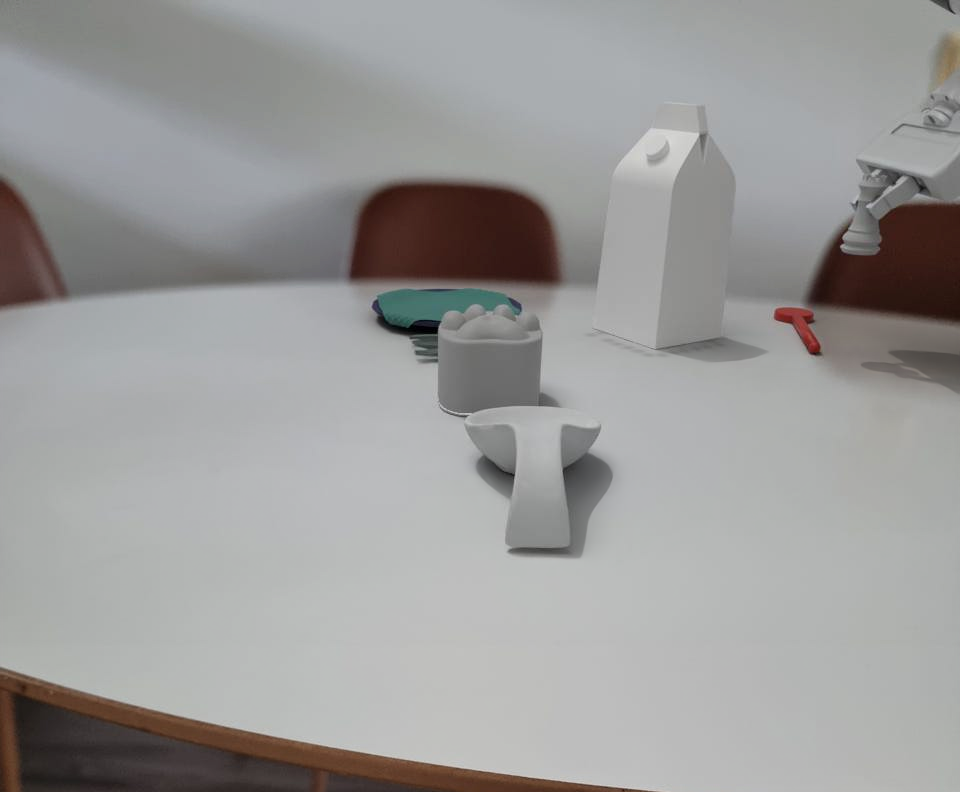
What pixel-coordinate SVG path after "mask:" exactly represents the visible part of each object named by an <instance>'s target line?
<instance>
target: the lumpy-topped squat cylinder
mask: <svg viewBox="0 0 960 792" xmlns="http://www.w3.org/2000/svg"><path fill="white" fill-rule="evenodd" d="M540 323H541V322H540V320H539V317H538V316H537V315H536V314H535V313H533V312H532V311H526V312H525V311H524V312H523V313H522V312H521V313H520V315H519V316H517V315H514V313H513V311H512V309H511V308H510V307H509V306H508V305H499V306H497V307H496V308H495V309H494V311H485V309H484V308H483V307H482V306H481V305H478V304H475V305H472V306H470V307H469V308H468V309H467V310H466V311H465V313H464V314H461V313H460V312H458V311H448V312H446V313H445V314H444V316H443V318H442V321H441V323H440V325H439V327H437V328H438V329H437V334H438V355H437V399H438V398H439V401H438V400H437V402H438V405H439V408H440V409H441V410H442V411H443V412H445V413H446V414H450V415H453V416H457V417H468V416H469V415H458V414H453V413H450V412H447V411H445V410H444V409H442V408H441V407H440V404H441V405H442V406H443V407H444V408H446V409H447V410H450V411H453V412H457V413H472V414H473V413H475V412H478V411H482V410H486V409H492V408H500V407H511V406H540V389H541V375H542V374H541V371H542V355H543V353H542V352H543V339H544V337H543V335H544V334H543V333H544V332H543V330H542V328H541V324H540ZM439 402H440V404H439Z"/></svg>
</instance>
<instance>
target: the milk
mask: <svg viewBox="0 0 960 792" xmlns="http://www.w3.org/2000/svg"><path fill="white" fill-rule="evenodd" d="M650 127H651V128H649V129H648V130H647V132H646V133H645V134H644V135H643V136H642V137H641V138H640V139H639V140H638V141H637V143H636V144H635V145H634V146H632V148H631V149H630V150H629V151H628V152H627V153H626V155H624V156H623V158H622V159H621V160H620V162H619V163H618V164H617V166H616V167H615V169H614V172H613V174H612V176H611V180H610V188H609V194H608V204H607V210H606V219H605V226H604V234H603V241H602V247H601V255H600V263H599V272H598V279H597V285H596V286H597V287H596V293H595V299H594V300H595V301H594V308H593V314H592V323H591V329H594V330H596V331H599V332H603V333H605V334H609V335H610V336H611V335H612V336H615V337H618V338H621V339H623V340H626V341H629V342H632V343H635V344H637V345H641V346H644V347H646V348H650V349H653V350H659V349H665V348H670V347H677V346H682V345H686V344H687V345H688V344H692V343H697V342H698V343H699V342H703V341H704V342H705V341H710V340H716V339H721V338H722V335H723V334H722V333H723V325H724V324H723V323H724V314H725V304H726V303H725V302H726V294H727V293H726V292H727V282H728V274H729V273H728V272H729V263H730V262H729V260H730V252H731V251H730V250H731V239H732V232H733V231H732V229H733V220H734V211H735V210H734V209H735V200H736V199H735V198H736V187H737V181H736V175H735V173H734V170H733V167H731V164H730V163H729V161H728V160H727V159H726V157H725V156H724V154H723V153H722V151H721V149H720V148H719V147H718V145H717V144H716V142H715V141H714V139H713V138H712V136H711V134H709V124H708V119H707V111H706V106H705V104H695V103H683V102H673V101H672V102H671V101H661V102H660V103H659V105H658V107H657V111H656V113H655V115H654V118H653V121H652V123H651V126H650Z"/></svg>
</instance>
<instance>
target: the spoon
mask: <svg viewBox="0 0 960 792" xmlns="http://www.w3.org/2000/svg"><path fill="white" fill-rule="evenodd" d="M814 316H815V313H814V312H813V311H812V310H809V309H806V308H802V307H801V308H800V307H789V306H785V307H777V308H776V309H774V313H773V318H774V319H775V320H777V321H779V322H783V323H788V324H793V326H794V327H795V329H796V331H797V333H798V334H799V336H800V337H801V339H802V341H803V343H804V344H805V346H806V348H807V349H808V351H809V352H810V354H813V355H816V354H818V353H819V352H820V351H821V349H822V345H821V343H820V342H819V341H818V339H817V337H816V335H815V334H814V333H813V331H812V329H811V328H810V326H809V325H808V323H812V322H813V320H814Z"/></svg>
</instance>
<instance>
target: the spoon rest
mask: <svg viewBox="0 0 960 792" xmlns="http://www.w3.org/2000/svg"><path fill="white" fill-rule="evenodd" d="M463 425H464V428H465V431H466V433H467V435H468V437H469V439H470V440H471V442H472V443H473V445H474V446H475V447H476V448H477V449H478V451H480V452H481V454H483V455H484V456H485V457H486V458H488V459H489V460H490V461H492V462H493V463H494V464H495V465H496V467H497V466H498V467H499V468H500V469H499V468H498V467H497V468H498V469H499V470H501V469H502V470H501V471H503V472H505V473H507V472H508V473H507V474H510V473H512V474H511V475H514V474H515V475H514V477H513V478H514V479H513V486H512V493H511V497H510V503H509V509H508V514H507V519H506V525H505V536H504V543H505V546H507V547H511V548H540V549H562V548H568V547H569V546H571V528H570V527H571V526H570V514H569V509H568V508H569V507H568V500H567V496H566V488H565V480H564V472H563V471H564V469H565V468H567V467H568V466H570V465H572V464H573V463H575V462H577V461H578V460H580V459H581V458H582V457H583V456H584V455H585V454H587V452H588V451H589V450H590V449H591V447H592V446H593V445H594V444H595V442H596V441H597V439H598V437H599V435H600V432H601V430H602V424H601V422H600V420H599V419H598V418H596V417H594V416H593V415H591V414H588V413H586V412H583V411H579V410H575V409H572V408H565V407H556V406H545V405H543V406H540V405H539V406H511V407H500V408H492V409H486V410H482V411H478V412H475V413H473V414H471V415H469V416H466V418H465V419H464V421H463Z"/></svg>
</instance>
